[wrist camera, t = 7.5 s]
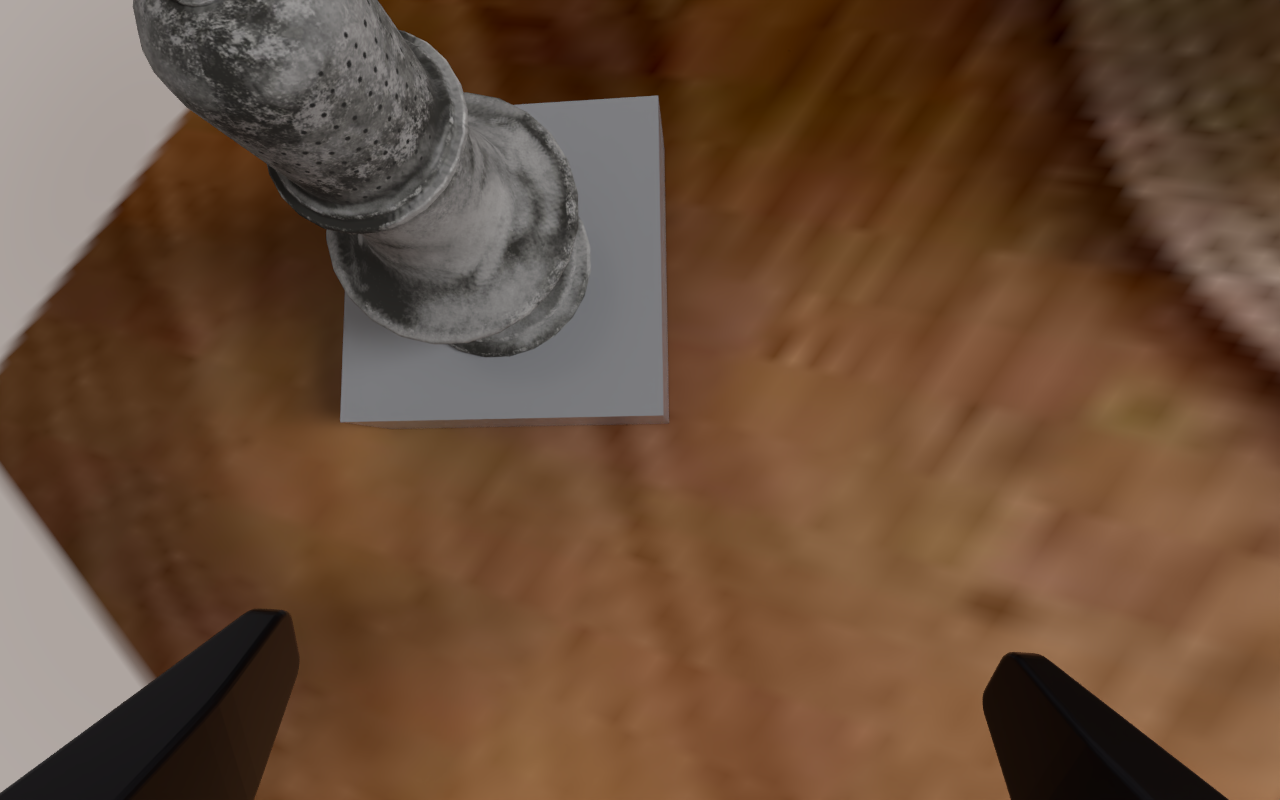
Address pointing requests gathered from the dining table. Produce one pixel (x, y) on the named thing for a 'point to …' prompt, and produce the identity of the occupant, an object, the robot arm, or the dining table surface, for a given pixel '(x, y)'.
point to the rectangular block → (588, 344)
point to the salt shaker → (388, 164)
